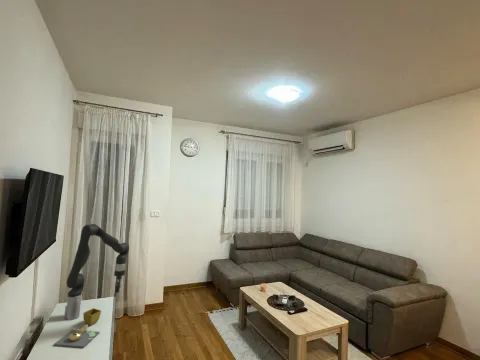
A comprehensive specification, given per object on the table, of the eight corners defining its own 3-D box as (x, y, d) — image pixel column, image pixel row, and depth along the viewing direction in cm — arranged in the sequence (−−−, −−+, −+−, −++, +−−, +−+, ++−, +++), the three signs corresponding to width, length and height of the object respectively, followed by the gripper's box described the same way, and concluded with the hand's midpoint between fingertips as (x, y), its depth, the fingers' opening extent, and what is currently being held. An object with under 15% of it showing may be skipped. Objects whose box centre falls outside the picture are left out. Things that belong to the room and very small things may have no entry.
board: (53, 345, 157) (53, 343, 157) (73, 330, 175) (73, 328, 175) (85, 348, 157) (85, 345, 157) (101, 332, 175) (101, 330, 175)
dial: (76, 342, 160) (77, 336, 160) (66, 341, 160) (66, 335, 161) (91, 329, 175) (91, 324, 175) (81, 329, 175) (82, 323, 175)
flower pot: (100, 322, 188) (101, 310, 189) (90, 327, 180) (91, 315, 181) (92, 319, 191) (93, 308, 192) (81, 325, 183) (83, 312, 184)
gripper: (116, 266, 195) (113, 286, 194) (113, 272, 182) (111, 294, 181) (126, 266, 197) (124, 286, 196) (124, 271, 184) (122, 293, 183)
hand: (117, 290), depth 189 cm, fingers open, 8 cm apart
